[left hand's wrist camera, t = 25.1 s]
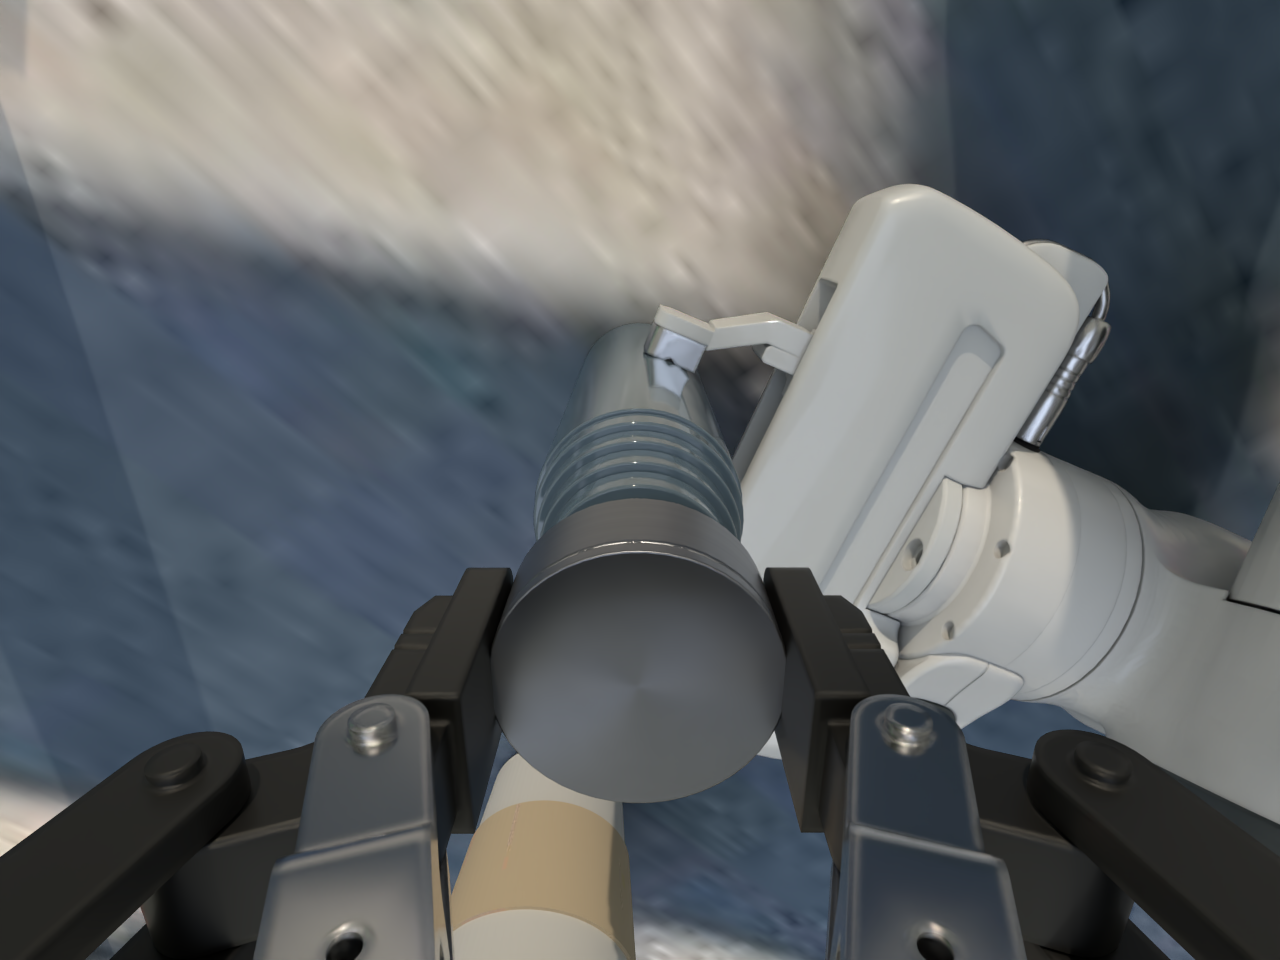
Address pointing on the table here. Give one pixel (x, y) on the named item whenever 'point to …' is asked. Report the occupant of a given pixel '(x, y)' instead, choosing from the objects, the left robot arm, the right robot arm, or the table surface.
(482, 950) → the coffee cup
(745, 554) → the cap
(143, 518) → the table surface
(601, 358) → the bottle
